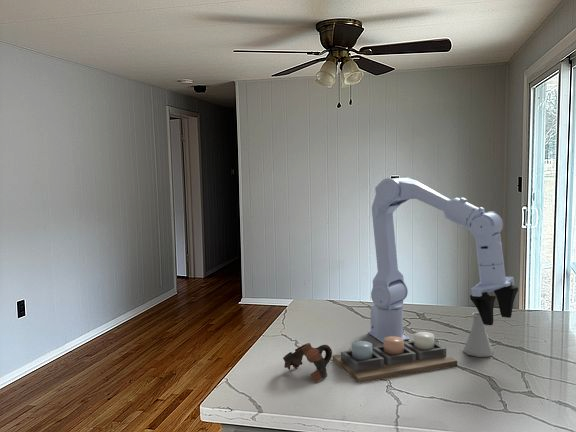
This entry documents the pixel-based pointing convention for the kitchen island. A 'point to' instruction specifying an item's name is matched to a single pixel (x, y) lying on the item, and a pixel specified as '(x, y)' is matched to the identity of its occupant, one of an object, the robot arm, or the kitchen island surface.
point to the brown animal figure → (310, 359)
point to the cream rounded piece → (424, 341)
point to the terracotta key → (393, 345)
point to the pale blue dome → (361, 350)
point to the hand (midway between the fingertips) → (497, 320)
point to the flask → (478, 339)
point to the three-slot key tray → (394, 362)
